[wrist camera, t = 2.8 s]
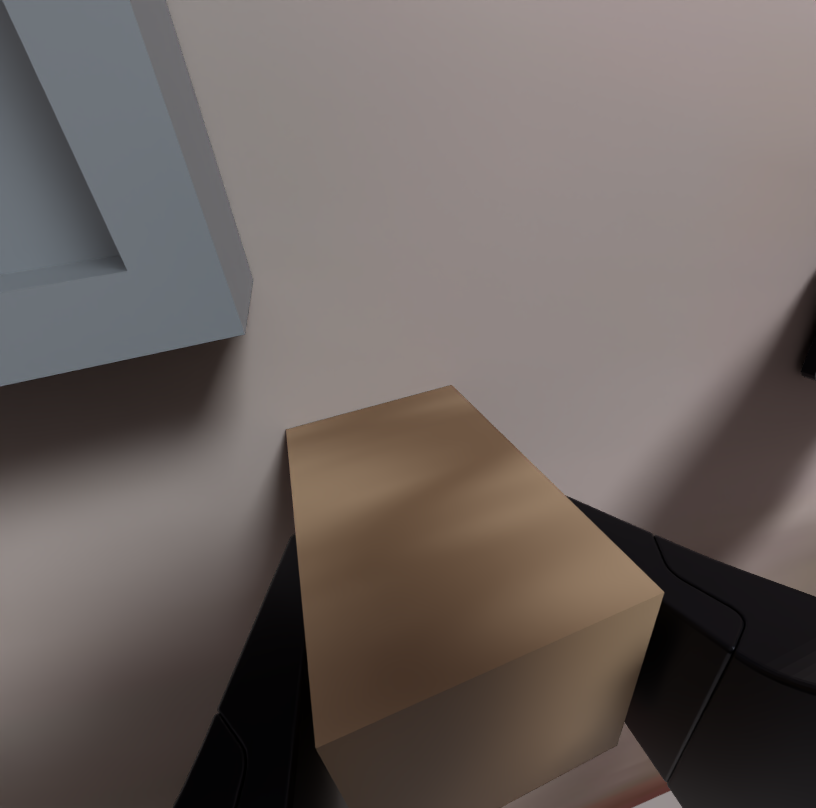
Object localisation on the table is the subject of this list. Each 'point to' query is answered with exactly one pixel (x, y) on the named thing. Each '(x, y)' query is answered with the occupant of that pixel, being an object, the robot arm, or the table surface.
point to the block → (455, 609)
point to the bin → (107, 193)
